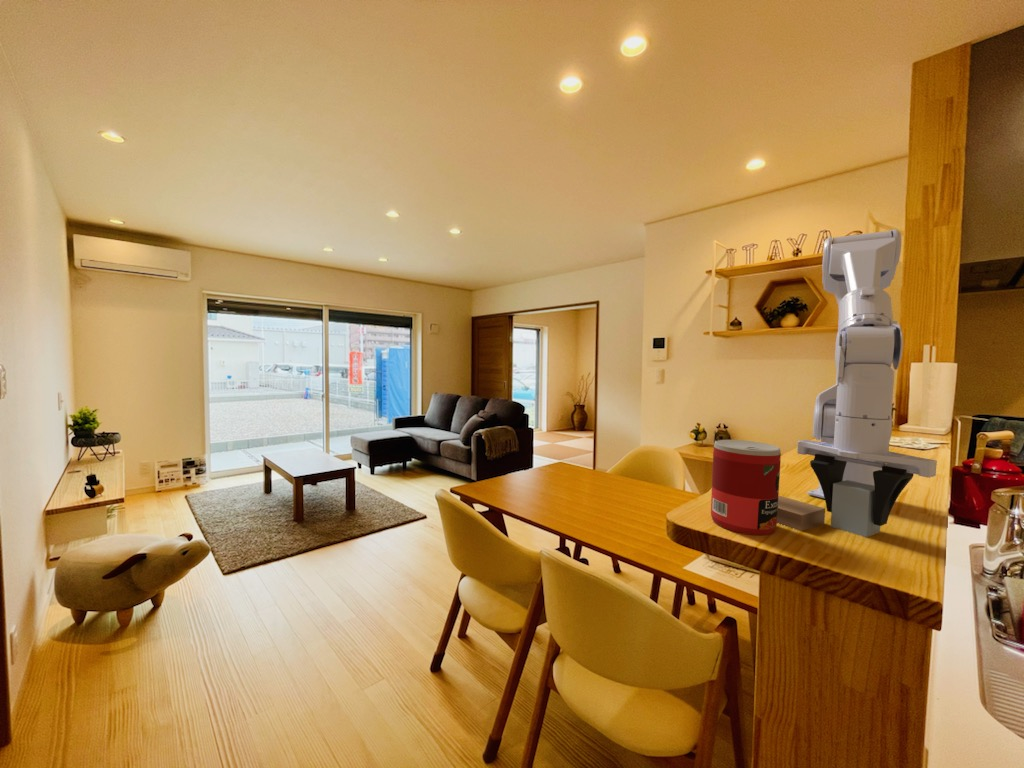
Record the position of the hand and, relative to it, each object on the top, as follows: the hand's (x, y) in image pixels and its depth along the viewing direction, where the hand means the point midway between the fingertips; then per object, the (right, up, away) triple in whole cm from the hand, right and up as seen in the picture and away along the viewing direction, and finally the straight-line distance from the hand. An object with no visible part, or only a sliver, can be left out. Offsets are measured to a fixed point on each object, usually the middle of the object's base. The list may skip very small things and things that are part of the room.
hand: (855, 517), depth 57 cm
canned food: (-15, -2, +1) cm, 15 cm away
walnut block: (-7, -2, +3) cm, 8 cm away
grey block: (0, -2, 0) cm, 2 cm away
